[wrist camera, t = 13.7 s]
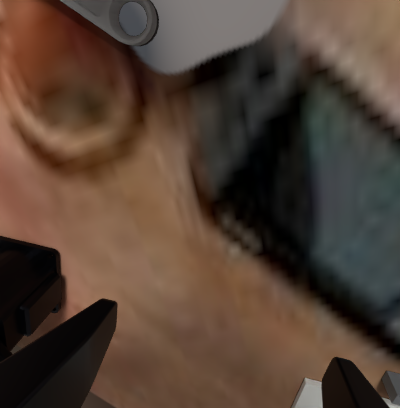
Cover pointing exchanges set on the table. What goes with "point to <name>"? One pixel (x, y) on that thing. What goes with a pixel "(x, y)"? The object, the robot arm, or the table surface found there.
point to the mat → (317, 396)
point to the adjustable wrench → (117, 18)
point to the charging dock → (392, 386)
